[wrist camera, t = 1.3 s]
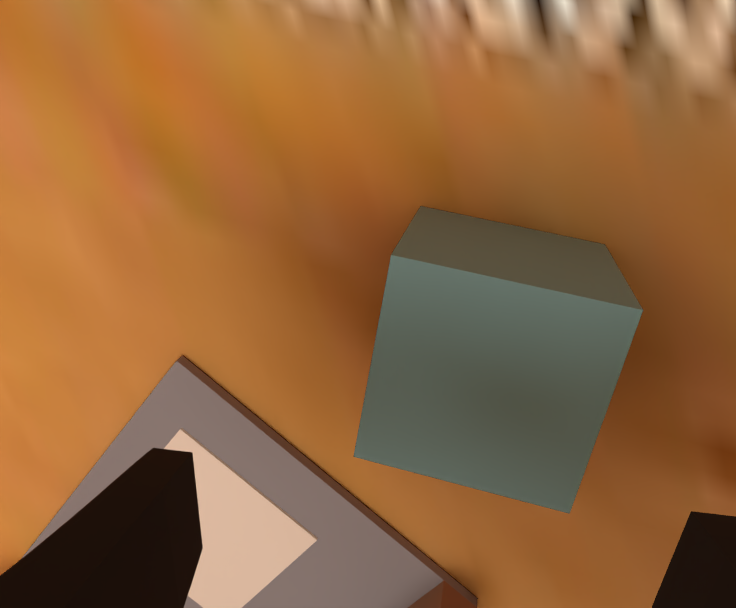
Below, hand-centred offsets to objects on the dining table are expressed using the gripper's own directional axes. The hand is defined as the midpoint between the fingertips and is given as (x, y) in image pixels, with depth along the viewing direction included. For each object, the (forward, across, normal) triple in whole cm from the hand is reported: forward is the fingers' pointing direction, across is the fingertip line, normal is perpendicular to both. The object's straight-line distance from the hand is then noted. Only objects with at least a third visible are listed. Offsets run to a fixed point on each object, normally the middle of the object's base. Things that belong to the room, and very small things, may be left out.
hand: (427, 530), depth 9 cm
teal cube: (+9, -2, +1) cm, 10 cm away
